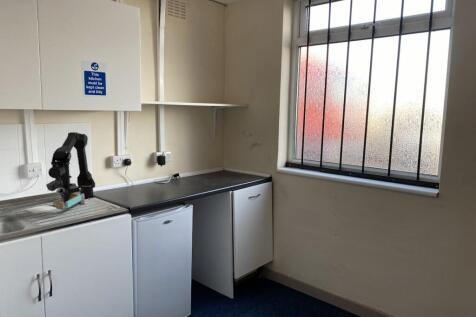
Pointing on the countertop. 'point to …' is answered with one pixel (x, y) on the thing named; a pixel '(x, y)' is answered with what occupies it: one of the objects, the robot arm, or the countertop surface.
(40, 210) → the mat
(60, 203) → the holder
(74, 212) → the countertop surface
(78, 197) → the bar
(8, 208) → the countertop surface
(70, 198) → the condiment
